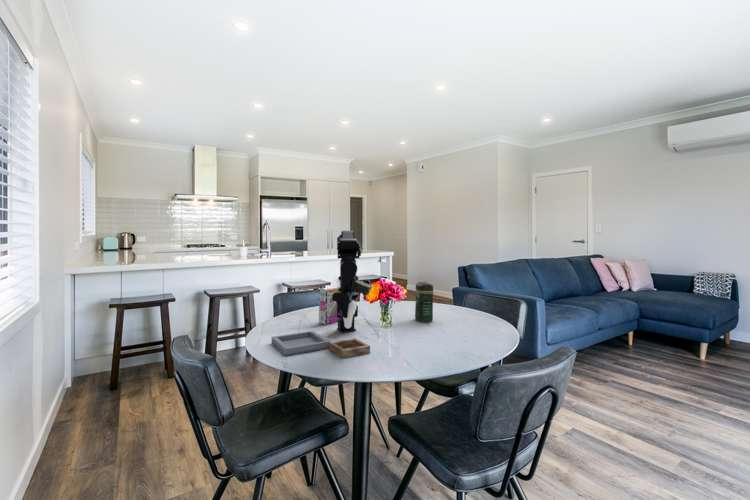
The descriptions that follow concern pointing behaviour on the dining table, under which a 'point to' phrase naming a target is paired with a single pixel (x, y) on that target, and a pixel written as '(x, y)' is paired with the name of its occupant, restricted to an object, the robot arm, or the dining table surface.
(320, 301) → the candy bar box
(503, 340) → the dining table surface
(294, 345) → the tray
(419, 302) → the coffee jar
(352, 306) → the lightbulb
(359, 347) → the tray
